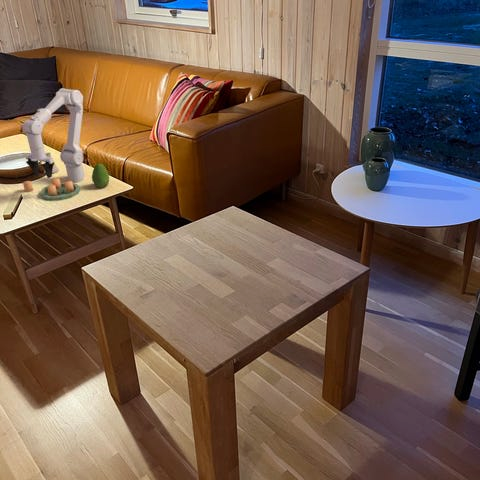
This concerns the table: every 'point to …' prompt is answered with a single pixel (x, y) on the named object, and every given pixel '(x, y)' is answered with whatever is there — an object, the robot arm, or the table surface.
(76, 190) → the tray
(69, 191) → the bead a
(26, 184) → the brown egg
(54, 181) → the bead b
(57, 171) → the flask
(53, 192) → the pale orange egg
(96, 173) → the avocado
